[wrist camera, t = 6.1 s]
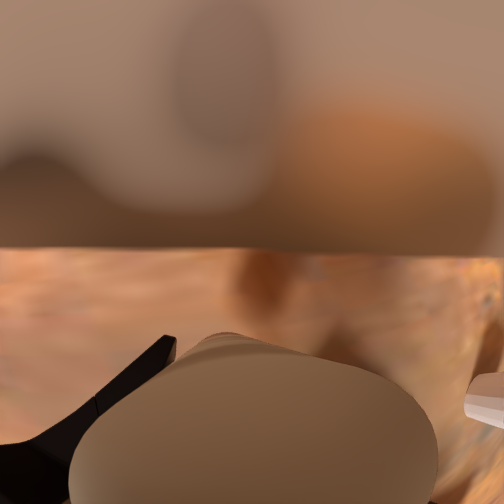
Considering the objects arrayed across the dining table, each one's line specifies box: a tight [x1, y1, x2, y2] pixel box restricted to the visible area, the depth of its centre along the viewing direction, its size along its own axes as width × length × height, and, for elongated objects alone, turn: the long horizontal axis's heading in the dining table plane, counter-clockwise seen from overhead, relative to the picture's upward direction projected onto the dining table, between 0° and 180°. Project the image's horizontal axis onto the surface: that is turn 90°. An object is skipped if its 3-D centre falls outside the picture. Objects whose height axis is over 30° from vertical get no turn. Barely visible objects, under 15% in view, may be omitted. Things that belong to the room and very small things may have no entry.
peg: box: [68, 332, 438, 504], centre depth 8 cm, size 4×4×14 cm
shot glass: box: [464, 372, 504, 429], centre depth 18 cm, size 7×7×7 cm
